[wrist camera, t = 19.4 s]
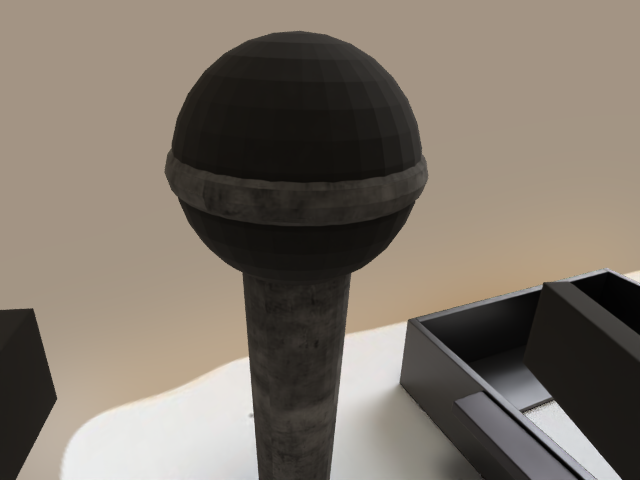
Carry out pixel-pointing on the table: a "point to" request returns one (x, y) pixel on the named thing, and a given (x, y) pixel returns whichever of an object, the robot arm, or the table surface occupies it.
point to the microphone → (296, 214)
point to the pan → (499, 377)
